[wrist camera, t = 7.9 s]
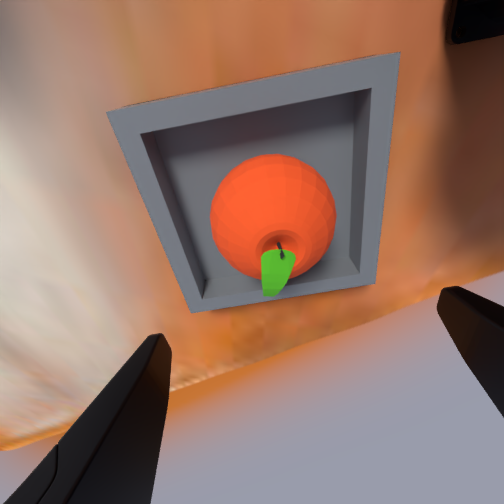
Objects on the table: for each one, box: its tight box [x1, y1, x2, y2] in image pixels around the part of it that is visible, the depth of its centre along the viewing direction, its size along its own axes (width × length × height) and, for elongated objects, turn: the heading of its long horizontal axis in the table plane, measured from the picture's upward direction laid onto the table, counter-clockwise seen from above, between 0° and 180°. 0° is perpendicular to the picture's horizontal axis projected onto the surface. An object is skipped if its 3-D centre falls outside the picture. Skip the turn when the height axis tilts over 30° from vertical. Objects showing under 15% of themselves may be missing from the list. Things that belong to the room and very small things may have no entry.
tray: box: [106, 52, 400, 313], centre depth 18 cm, size 14×14×3 cm
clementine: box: [210, 154, 337, 297], centre depth 15 cm, size 8×7×7 cm
